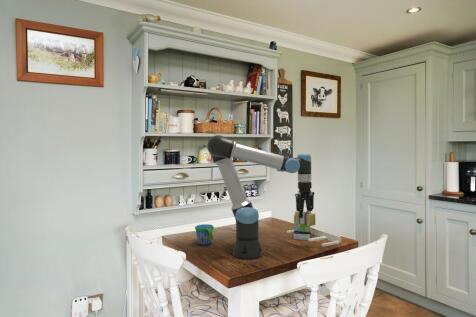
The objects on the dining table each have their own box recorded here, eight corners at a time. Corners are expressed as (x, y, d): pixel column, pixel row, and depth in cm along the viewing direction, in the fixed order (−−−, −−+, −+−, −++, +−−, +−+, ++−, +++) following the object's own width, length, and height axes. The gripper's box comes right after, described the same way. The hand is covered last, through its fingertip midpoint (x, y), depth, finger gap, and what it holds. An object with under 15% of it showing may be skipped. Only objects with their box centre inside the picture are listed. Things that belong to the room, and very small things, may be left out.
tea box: (310, 240, 189) (310, 215, 189) (293, 239, 191) (293, 215, 191) (310, 234, 204) (310, 211, 204) (294, 233, 206) (294, 210, 206)
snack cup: (191, 241, 188) (190, 224, 188) (207, 239, 194) (207, 222, 193) (201, 248, 175) (201, 230, 175) (218, 245, 180) (218, 227, 180)
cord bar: (310, 226, 172) (310, 214, 172) (295, 222, 181) (295, 212, 181) (315, 224, 174) (315, 213, 174) (300, 221, 183) (300, 211, 183)
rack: (323, 246, 176) (323, 239, 176) (286, 232, 208) (286, 226, 208) (341, 243, 182) (341, 236, 182) (303, 230, 214) (303, 224, 214)
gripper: (298, 183, 169) (299, 226, 169) (320, 180, 179) (320, 222, 179) (288, 182, 175) (289, 224, 176) (310, 180, 185) (310, 219, 185)
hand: (305, 223), depth 177 cm, fingers closed on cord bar, 4 cm apart
